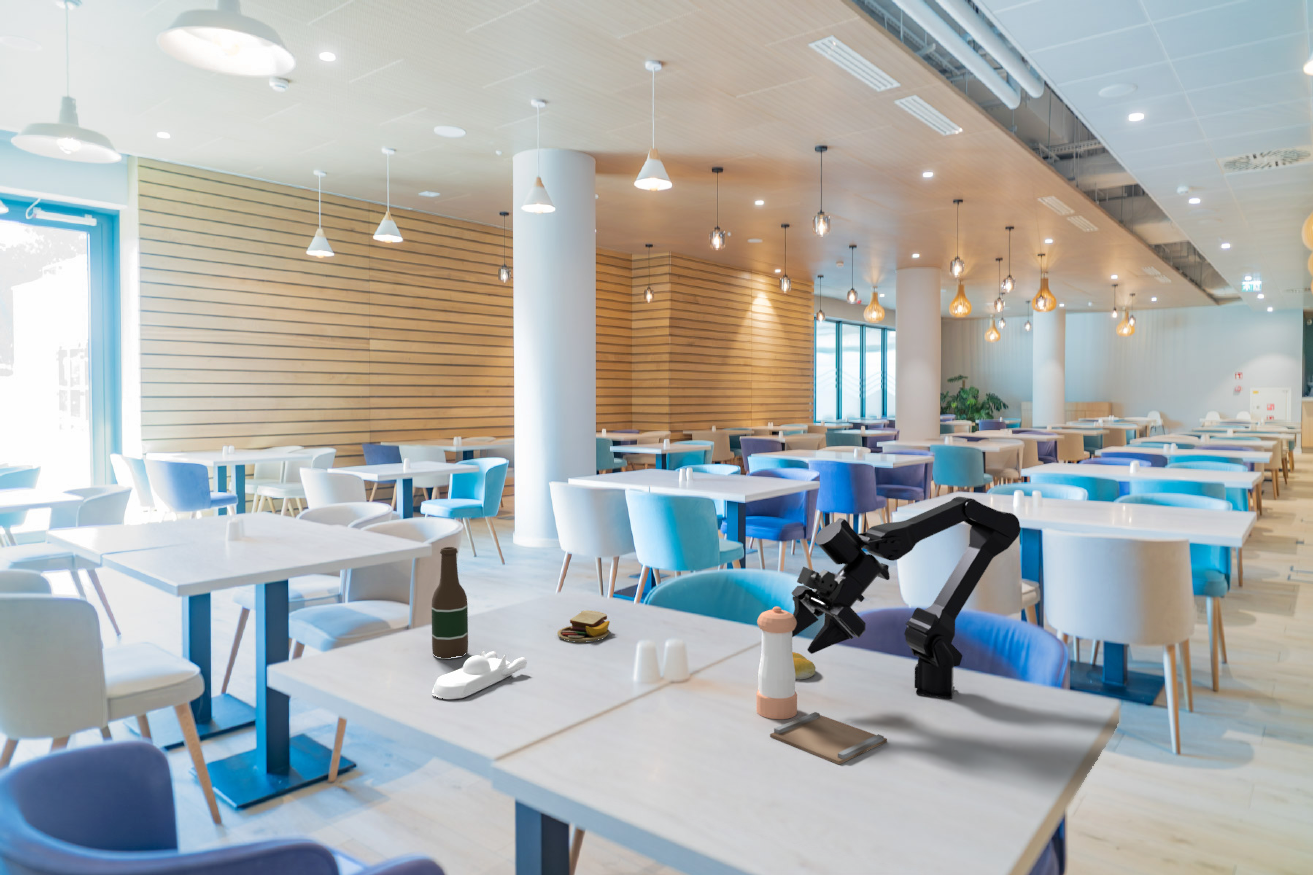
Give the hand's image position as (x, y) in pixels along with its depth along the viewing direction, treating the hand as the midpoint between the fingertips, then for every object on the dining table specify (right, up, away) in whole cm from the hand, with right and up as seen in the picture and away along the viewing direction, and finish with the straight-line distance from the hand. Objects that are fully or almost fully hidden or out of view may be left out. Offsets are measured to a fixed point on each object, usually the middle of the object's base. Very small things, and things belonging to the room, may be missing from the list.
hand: (797, 644), depth 148 cm
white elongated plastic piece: (-62, -12, +15) cm, 65 cm away
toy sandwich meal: (-43, -11, +49) cm, 66 cm away
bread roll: (+3, -11, +21) cm, 24 cm away
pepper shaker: (-4, -12, -1) cm, 13 cm away
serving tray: (+3, -12, -13) cm, 18 cm away
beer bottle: (-72, -11, +34) cm, 80 cm away
